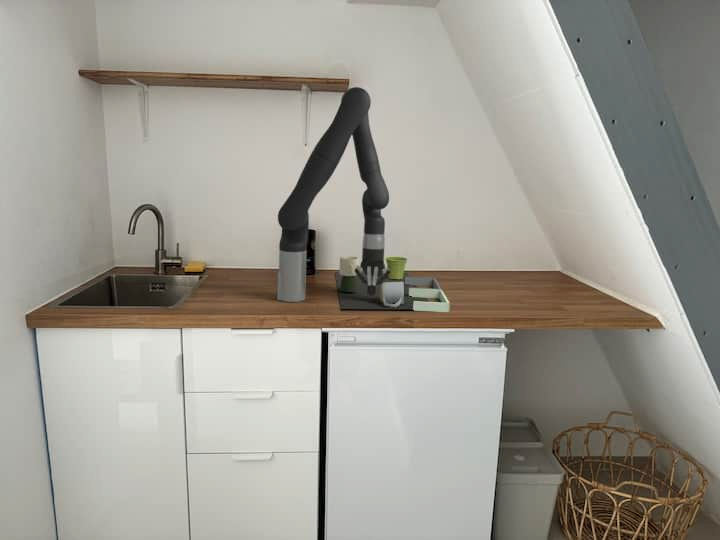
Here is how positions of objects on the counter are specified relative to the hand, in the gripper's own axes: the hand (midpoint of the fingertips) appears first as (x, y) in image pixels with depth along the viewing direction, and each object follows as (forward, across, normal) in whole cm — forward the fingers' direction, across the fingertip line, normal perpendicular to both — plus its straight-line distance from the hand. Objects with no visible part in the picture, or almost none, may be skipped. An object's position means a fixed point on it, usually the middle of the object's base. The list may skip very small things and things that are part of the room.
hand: (371, 295), depth 184 cm
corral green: (+2, +20, 0) cm, 20 cm away
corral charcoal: (+2, +20, +20) cm, 28 cm away
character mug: (+2, -8, +12) cm, 15 cm away
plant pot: (+2, +11, +40) cm, 41 cm away
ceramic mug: (+2, +7, -2) cm, 8 cm away
